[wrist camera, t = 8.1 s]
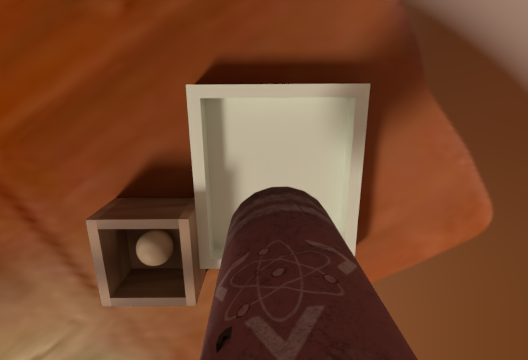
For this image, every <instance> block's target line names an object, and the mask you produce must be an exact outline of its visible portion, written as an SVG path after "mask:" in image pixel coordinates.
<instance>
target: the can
mask: <svg viewBox="0 0 528 360" xmlns="http://www.w3.org/2000/svg"><path fill="white" fill-rule="evenodd" d="M231 326H232V332H231V339H230V343H229V339H228V338H227V339H225V340H224V342H223V344H222V348H221V349H220V350H219V351H218V353H217V350H216V342H217V340H218V337H219V335H220V334H221V333H222V332H223V331H224V330H225V329H227V328H229V327H231ZM200 360H417V358H416V356H415V355H414V353H413V351H412V350H411V348H410V347H409V345H408V344H407V342H406V340H405V339H404V337H403V335H402V334H401V332H400V330H399V329H398V327H397V325H396V324H395V322H394V321H393V319H392V317H391V316H390V314H389V312H388V311H387V309H386V307H385V306H384V304H383V303H382V301H381V299H380V298H379V296H378V295H377V293H376V291H375V290H374V288H373V286H372V285H371V283H370V281H369V280H368V278H367V277H366V275H365V273H364V272H363V270H362V268H361V267H360V265H359V264H358V262H357V260H356V259H355V257H354V255H353V254H352V252H351V250H350V249H349V247H348V246H347V244H346V242H345V241H344V239H343V237H342V236H341V234H340V233H339V231H338V229H337V228H336V226H335V224H334V223H333V221H332V220H331V218H330V216H329V215H328V213H327V212H326V210H325V209H324V208H323V206H322V205H321V204H320V202H319V201H318V200H317V199H315V198H314V197H312V196H311V195H309V194H308V193H306V192H305V191H302V190H299V189H295V188H292V187H288V186H287V187H270V188H267V189H264V190H261V191H258V192H255V193H254V194H252V195H251V196H250V197H248V198H247V199H246V200H244V201H243V202H242V203H241V204H240V205H239V207H238V208H237V210H236V211H235V212H234V214H233V215H232V218H231V222H230V225H229V229H228V233H227V238H226V242H225V247H224V251H223V256H222V261H221V265H220V270H219V274H218V279H217V284H216V288H215V293H214V297H213V302H212V307H211V311H210V316H209V320H208V325H207V330H206V334H205V339H204V343H203V348H202V352H201V357H200Z"/></svg>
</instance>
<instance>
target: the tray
mask: <svg viewBox="0 0 528 360" xmlns="http://www.w3.org/2000/svg"><path fill="white" fill-rule="evenodd" d="M186 94H187V107H188V119H189V132H190V145H191V158H192V171H193V184H194V197H195V210H196V223H197V236H198V249H199V262H200V269H220V265H221V261H222V256H223V251H224V247H225V242H226V238H227V233H228V229H229V225H230V222H231V218H232V215H233V214H234V212H235V211H236V210H237V208H238V207H239V205H240V204H241V203H242V202H243V201H244V200H246V199H247V198H248V197H250V196H251V195H252V194H254V193H255V192H258V191H261V190H264V189H267V188H270V187H287V186H288V187H292V188H295V189H299V190H302V191H305V192H306V193H308V194H309V195H311V196H312V197H314V198H315V199H317V200H318V201H319V202H320V204H321V205H322V206H323V208H324V209H325V210H326V212H327V213H328V215H329V216H330V218H331V220H332V221H333V223H334V224H335V226H336V228H337V229H338V231H339V233H340V234H341V236H342V237H343V239H344V241H345V242H346V244H347V246H348V247H349V249H350V250H351V252H352V254H353V255H354V257H355V248H356V237H357V226H358V215H359V204H360V193H361V182H362V171H363V160H364V149H365V138H366V127H367V116H368V105H369V94H370V83H369V84H213V85H186Z"/></svg>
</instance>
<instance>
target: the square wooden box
mask: <svg viewBox="0 0 528 360" xmlns="http://www.w3.org/2000/svg"><path fill="white" fill-rule="evenodd" d="M86 225H87V230H88V235H89V241H90V246H91V251H92V256H93V261H94V267H95V272H96V277H97V282H98V287H99V293H100V298H101V303H102V306H195V305H196V304H197V301H198V297H199V294H200V291H201V288H202V284H203V281H204V278H205V275H206V272H207V271H206V269H200V262H199V249H198V236H197V223H196V210H195V197H159V198H115V199H113V200H112V201H111V202H109V203H108V204H107V205H105V206H104V207H103V208H101V209H100V210H98V211H97V212H96V213H94V214H93V215H92V216H90V217H89V218H87V219H86ZM150 230H162V231H165V232H166V233H168V234H169V235H170V237H171V238H172V240H173V244H174V248H173V253H172V255H171V257H170V258H169V259H168V260H167V261H166V262H164V263H163V264H161V265H157V266H150V265H146V264H144V263H143V262H142V261H141V260H140V259H139V258H138V256H137V253H136V245H137V242H138V240H139V238H140V237H141V236H142V235H143V234H144V233H146V232H148V231H150Z"/></svg>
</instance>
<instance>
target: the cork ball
mask: <svg viewBox="0 0 528 360" xmlns="http://www.w3.org/2000/svg"><path fill="white" fill-rule="evenodd" d="M173 248H174V244H173V240H172V238H171V237H170V235H169V234H168V233H166V232H165V231H162V230H150V231H148V232H146V233H144V234H143V235H142V236H141V237H140V238H139V240H138V242H137V245H136V253H137V256H138V258H139V259H140V260H141V261H142V262H143V263H144V264H146V265H150V266H157V265H161V264H163V263H164V262H166V261H167V260H168V259H169V258H170V257H171V255H172V253H173Z"/></svg>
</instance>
